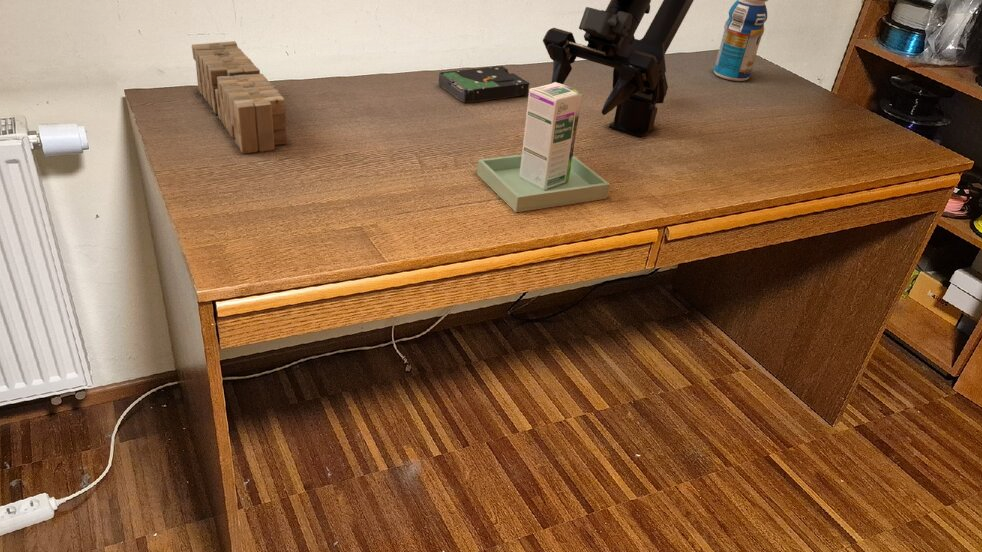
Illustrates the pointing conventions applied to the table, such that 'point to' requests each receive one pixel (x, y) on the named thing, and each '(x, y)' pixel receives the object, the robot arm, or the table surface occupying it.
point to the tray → (530, 197)
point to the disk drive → (483, 84)
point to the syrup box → (549, 134)
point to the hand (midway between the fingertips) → (576, 105)
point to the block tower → (240, 96)
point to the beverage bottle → (741, 39)
